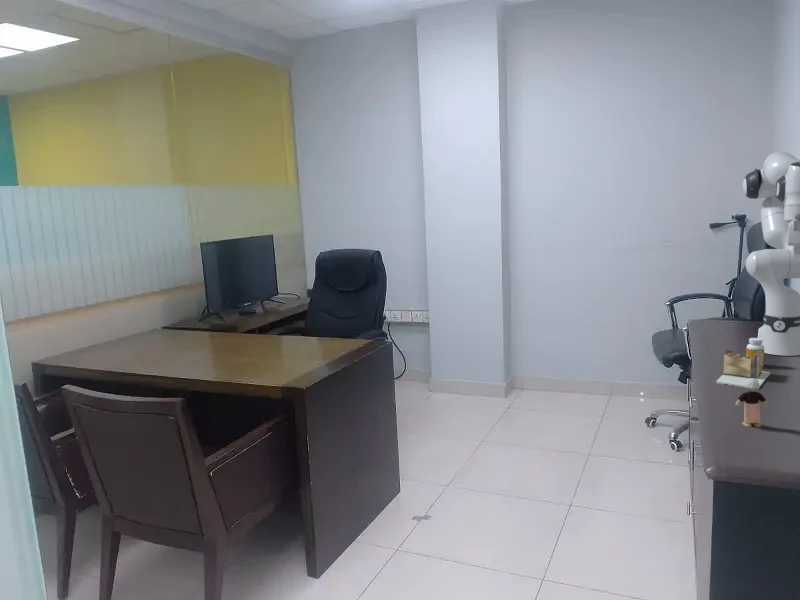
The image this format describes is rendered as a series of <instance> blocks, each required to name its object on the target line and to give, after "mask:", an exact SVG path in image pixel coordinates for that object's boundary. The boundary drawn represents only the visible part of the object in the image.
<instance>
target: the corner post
mask: <svg viewBox="0 0 800 600" xmlns="http://www.w3.org/2000/svg"><path fill="white" fill-rule="evenodd" d="M724 352H725V355H727V353H731V356H733V355H732V353H733V349H728V348H726V349H725V351H724Z"/></svg>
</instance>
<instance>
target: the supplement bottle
mask: <svg viewBox="0 0 800 600" xmlns="http://www.w3.org/2000/svg"><path fill="white" fill-rule="evenodd" d="M748 343H749V344H747V345H746V348H745V349H746V354H745V356H746V355H750V358H752V362H753V355H755V353H757V351H761V352H762V353H763V358H762V368H763V367H764V364H765V363H764V361H765V353H764V346H763V345H761V344H762V339H760V338H758V337H750V338H748Z"/></svg>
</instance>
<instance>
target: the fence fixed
mask: <svg viewBox="0 0 800 600" xmlns="http://www.w3.org/2000/svg"><path fill="white" fill-rule="evenodd" d="M762 358H763V353H762V352H761V351H757V353H755V355H753V362H752V378H754V379H756V378H757V377H758V376H759V375H760V373H761V372H762V371H763V367H762Z"/></svg>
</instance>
